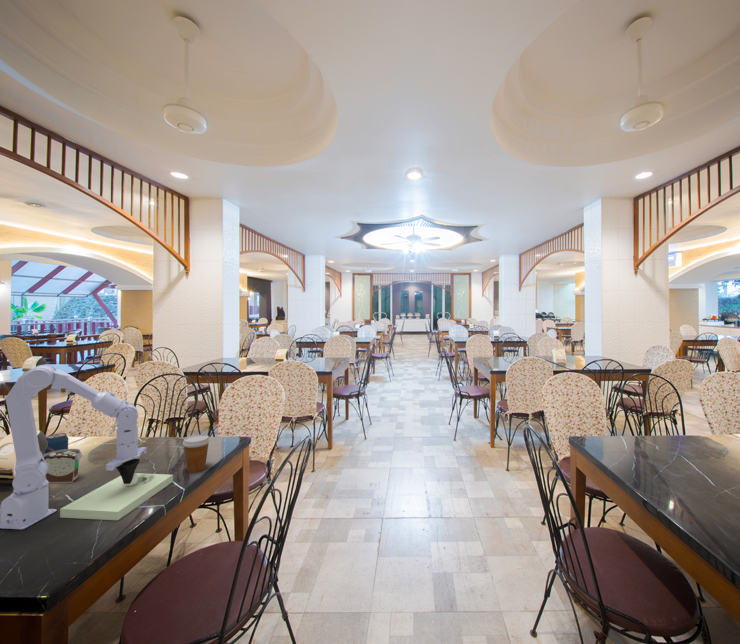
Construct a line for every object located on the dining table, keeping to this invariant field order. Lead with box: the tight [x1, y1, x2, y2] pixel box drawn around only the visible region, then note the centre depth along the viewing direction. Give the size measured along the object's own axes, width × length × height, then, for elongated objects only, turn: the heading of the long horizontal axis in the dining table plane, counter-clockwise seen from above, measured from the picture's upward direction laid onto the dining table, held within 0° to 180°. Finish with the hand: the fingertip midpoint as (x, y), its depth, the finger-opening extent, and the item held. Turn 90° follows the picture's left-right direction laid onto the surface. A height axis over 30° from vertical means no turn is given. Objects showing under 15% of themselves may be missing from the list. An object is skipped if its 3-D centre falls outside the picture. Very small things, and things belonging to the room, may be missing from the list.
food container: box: [42, 448, 83, 484], centre depth 123 cm, size 12×6×10 cm, turn 92°
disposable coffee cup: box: [182, 434, 211, 473], centre depth 132 cm, size 10×10×12 cm
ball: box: [125, 472, 138, 486], centre depth 113 cm, size 4×4×4 cm
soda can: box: [43, 432, 69, 455], centre depth 134 cm, size 7×7×12 cm
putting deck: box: [59, 472, 174, 521], centre depth 110 cm, size 24×18×2 cm
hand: (127, 483), depth 111 cm, fingers closed, pressing on ball
